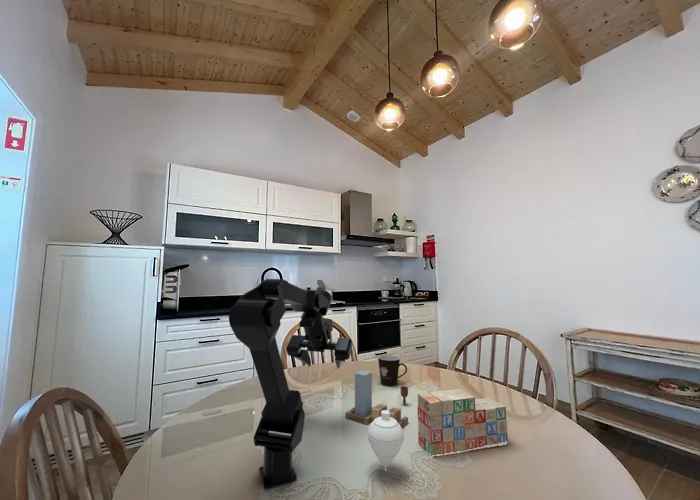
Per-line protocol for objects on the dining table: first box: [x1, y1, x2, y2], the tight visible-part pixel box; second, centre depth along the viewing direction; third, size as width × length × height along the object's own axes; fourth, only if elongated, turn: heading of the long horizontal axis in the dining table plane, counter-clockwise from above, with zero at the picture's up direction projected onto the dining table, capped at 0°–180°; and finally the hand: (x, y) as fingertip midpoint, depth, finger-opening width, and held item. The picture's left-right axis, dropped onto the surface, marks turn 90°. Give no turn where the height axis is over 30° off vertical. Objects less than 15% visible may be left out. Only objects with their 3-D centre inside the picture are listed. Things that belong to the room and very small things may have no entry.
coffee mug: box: [377, 354, 408, 388], centre depth 117 cm, size 12×9×10 cm
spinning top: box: [367, 409, 405, 472], centre depth 64 cm, size 8×8×12 cm
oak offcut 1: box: [370, 402, 388, 424], centre depth 86 cm, size 5×2×4 cm, turn 146°
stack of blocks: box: [417, 388, 509, 456], centre depth 74 cm, size 21×6×12 cm, turn 105°
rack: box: [344, 406, 409, 429], centre depth 86 cm, size 8×16×2 cm, turn 56°
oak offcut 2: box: [388, 406, 402, 422], centre depth 84 cm, size 5×2×4 cm, turn 146°
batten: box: [354, 370, 373, 417], centre depth 89 cm, size 4×4×12 cm
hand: (324, 366), depth 90 cm, fingers open, 9 cm apart
